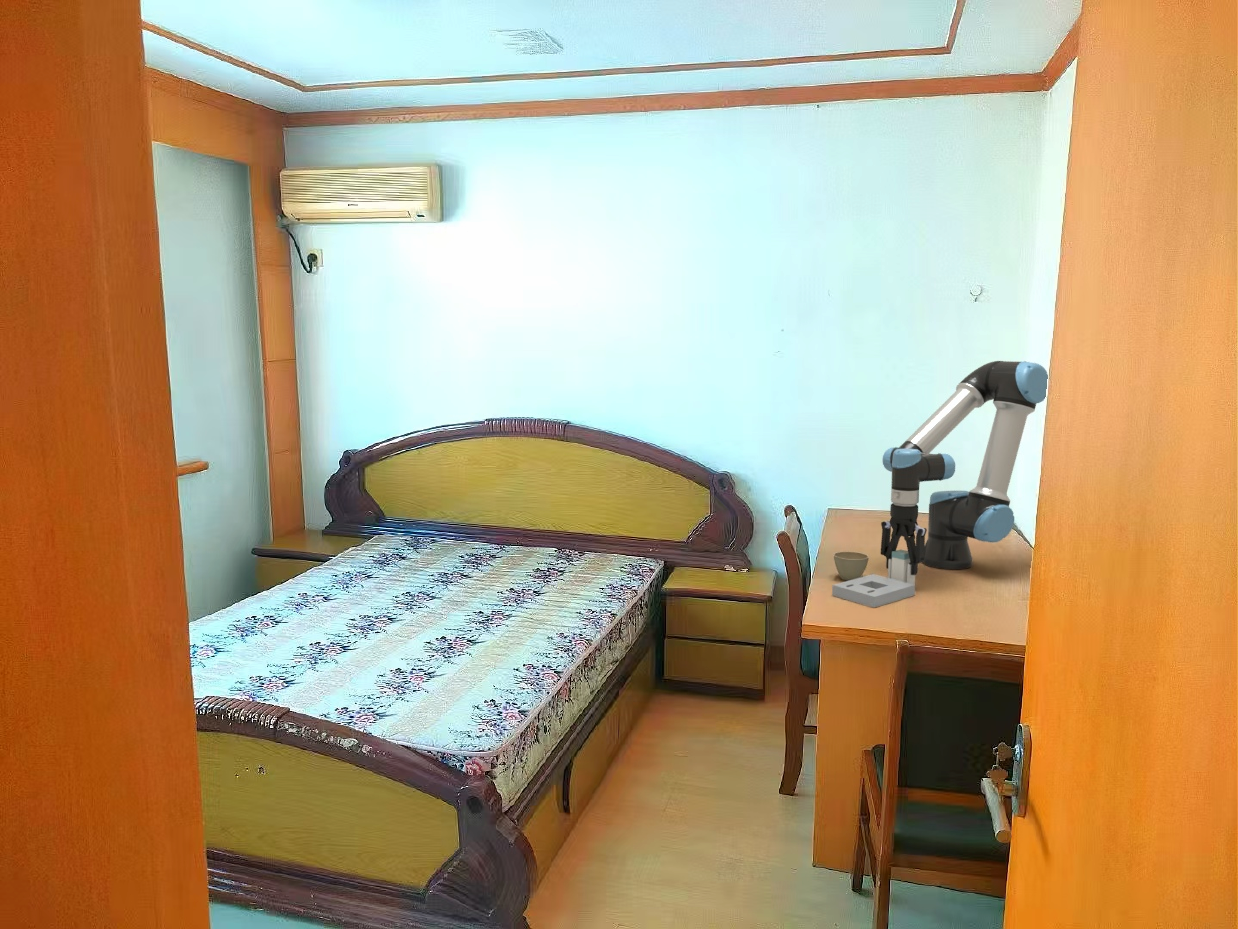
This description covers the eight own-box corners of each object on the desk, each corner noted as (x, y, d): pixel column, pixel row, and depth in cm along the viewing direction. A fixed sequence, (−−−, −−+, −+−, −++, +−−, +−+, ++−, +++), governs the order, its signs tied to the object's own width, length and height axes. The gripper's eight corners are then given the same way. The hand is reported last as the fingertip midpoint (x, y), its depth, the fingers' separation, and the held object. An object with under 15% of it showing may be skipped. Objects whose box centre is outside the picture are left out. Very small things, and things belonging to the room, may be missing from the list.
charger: (899, 583, 258) (900, 549, 257) (911, 586, 255) (912, 552, 253) (890, 585, 256) (891, 551, 254) (902, 588, 253) (904, 554, 251)
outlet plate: (872, 584, 257) (873, 573, 257) (914, 595, 246) (915, 584, 246) (832, 595, 246) (832, 584, 246) (874, 607, 235) (874, 596, 235)
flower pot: (866, 584, 257) (867, 560, 255) (831, 581, 260) (831, 557, 259) (869, 576, 266) (870, 552, 265) (835, 573, 269) (835, 549, 268)
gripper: (868, 500, 257) (865, 578, 260) (925, 510, 242) (921, 592, 246) (884, 497, 261) (881, 573, 265) (941, 507, 247) (937, 588, 250)
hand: (901, 582), depth 255 cm, fingers open, 6 cm apart
